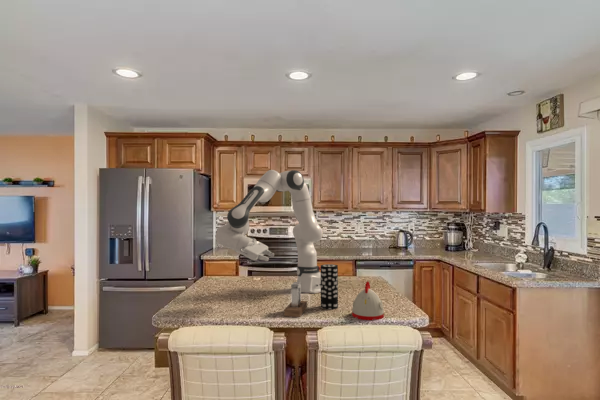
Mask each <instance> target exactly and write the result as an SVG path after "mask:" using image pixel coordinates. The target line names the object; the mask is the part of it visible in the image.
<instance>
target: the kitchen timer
mask: <svg viewBox="0 0 600 400" xmlns="http://www.w3.org/2000/svg"><path fill="white" fill-rule="evenodd" d="M364 284H365V286H364V289H362V290H361V291H360V292H359V293H358V294H357V295H356V297H355V298H354V299H353V302H352V310H351V316H352V317H353V318H355V319H357V320H362V321H363V320H364V321H379V320H381V319H383V318H384V317H385V315H384V313H385V312H384V304H383V300H382V299H381V298H380V297H379V295H378V294H377V293H376V292H375V291H374V290H373V289H371V284H370V281H366V282H365V283H364Z"/></svg>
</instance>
